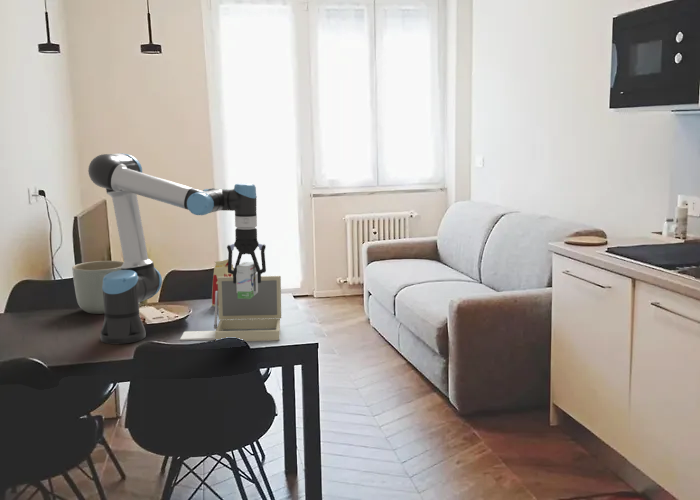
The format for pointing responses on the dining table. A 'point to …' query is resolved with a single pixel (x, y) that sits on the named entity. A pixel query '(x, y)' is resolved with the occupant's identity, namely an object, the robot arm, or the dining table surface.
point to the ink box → (246, 280)
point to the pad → (198, 335)
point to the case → (249, 310)
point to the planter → (92, 283)
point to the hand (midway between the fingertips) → (247, 291)
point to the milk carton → (219, 271)
